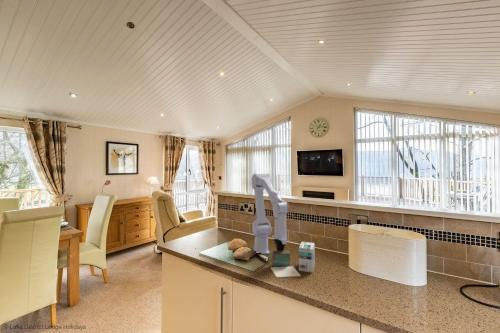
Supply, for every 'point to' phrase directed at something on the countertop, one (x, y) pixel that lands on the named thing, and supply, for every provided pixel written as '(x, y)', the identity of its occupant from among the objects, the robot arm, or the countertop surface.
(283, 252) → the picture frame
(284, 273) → the cream mat
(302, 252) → the light bulb box
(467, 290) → the countertop surface
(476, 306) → the countertop surface
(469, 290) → the countertop surface
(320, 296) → the countertop surface
